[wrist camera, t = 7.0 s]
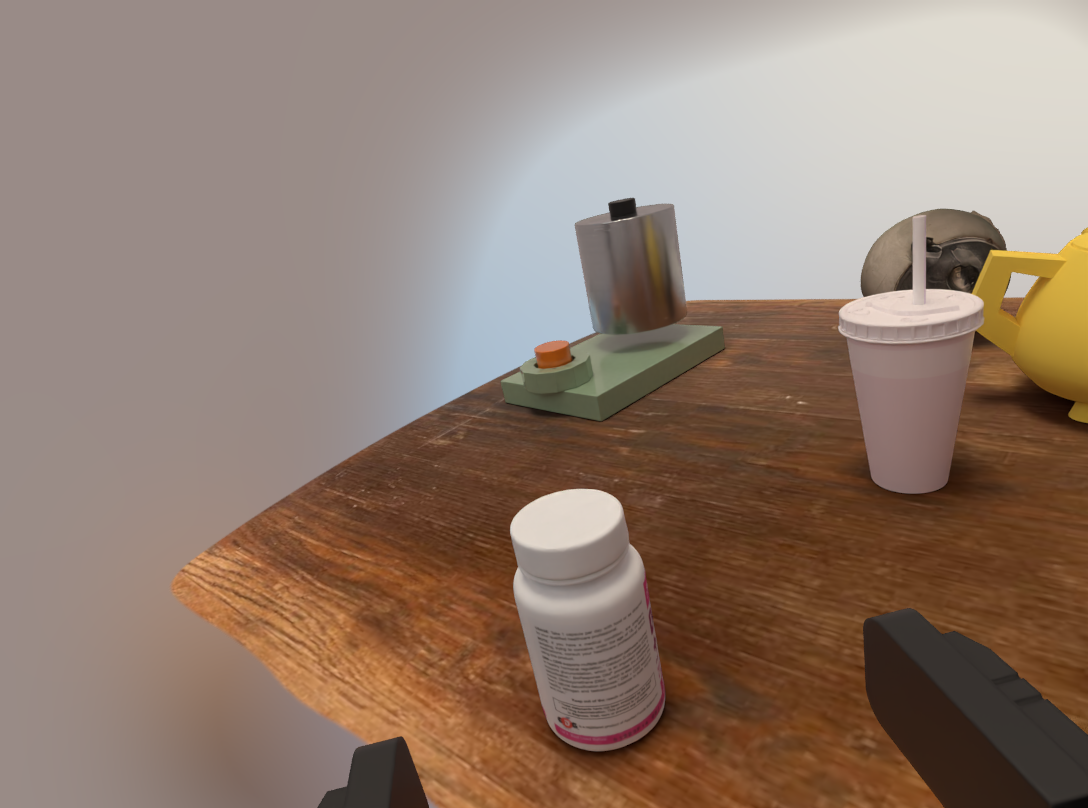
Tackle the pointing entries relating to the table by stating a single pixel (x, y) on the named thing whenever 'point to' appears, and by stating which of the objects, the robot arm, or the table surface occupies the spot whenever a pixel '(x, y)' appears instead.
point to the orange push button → (553, 354)
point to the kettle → (632, 268)
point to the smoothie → (911, 374)
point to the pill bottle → (587, 619)
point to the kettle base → (612, 370)
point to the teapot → (1043, 318)
